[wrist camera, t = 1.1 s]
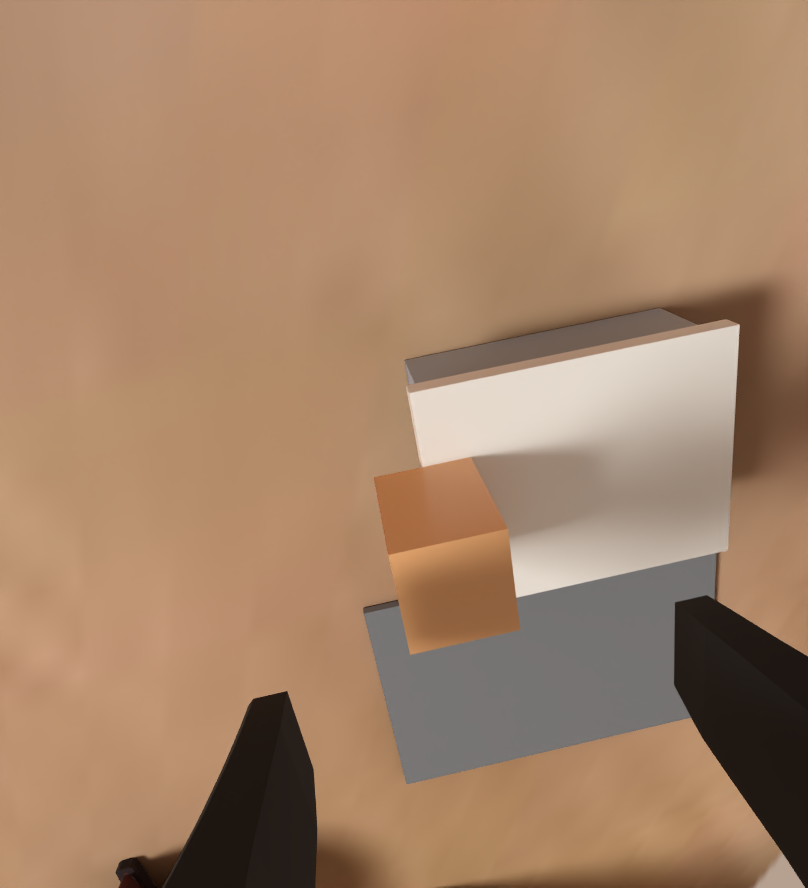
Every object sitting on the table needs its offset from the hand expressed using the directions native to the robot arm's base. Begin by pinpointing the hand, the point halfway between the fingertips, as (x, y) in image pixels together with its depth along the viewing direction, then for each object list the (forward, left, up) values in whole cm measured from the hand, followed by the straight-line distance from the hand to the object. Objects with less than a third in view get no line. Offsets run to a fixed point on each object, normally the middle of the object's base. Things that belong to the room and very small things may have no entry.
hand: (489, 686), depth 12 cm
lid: (-4, 0, -7) cm, 8 cm away
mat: (-4, +10, -10) cm, 15 cm away
